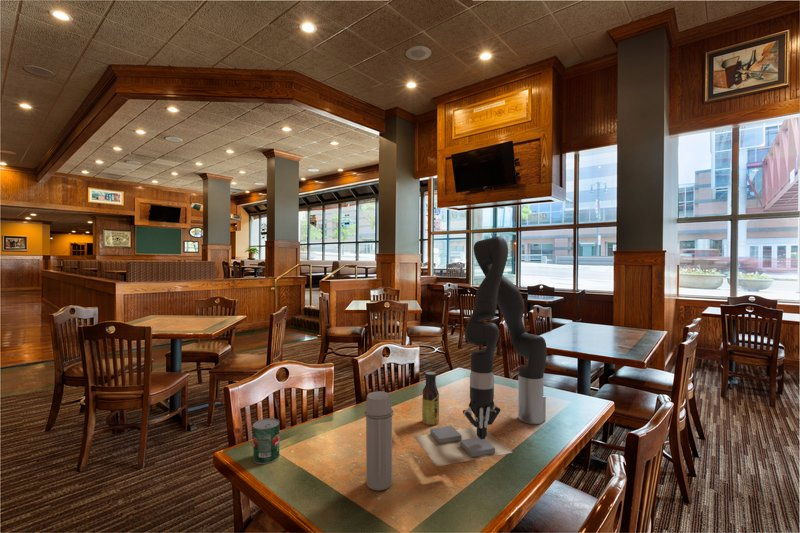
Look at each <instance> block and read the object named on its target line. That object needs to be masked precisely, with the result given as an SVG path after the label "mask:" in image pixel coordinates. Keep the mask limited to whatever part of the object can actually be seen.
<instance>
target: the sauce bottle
mask: <svg viewBox="0 0 800 533" xmlns="http://www.w3.org/2000/svg"><path fill="white" fill-rule="evenodd" d="M424 374H425V375H424V376H425V386H424V387H423V389H422V402H421V404H422V406H421V408H422V411H421V412H422V423H423V425H425V426H430V427H432V426H437V425H439V423H440V393H439V390H438V388H437V383H436V381H437V380H436V378H437V373H436V372H435V371H427V372H425V373H424Z"/></svg>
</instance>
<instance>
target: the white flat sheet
mask: <svg viewBox="0 0 800 533" xmlns="http://www.w3.org/2000/svg"><path fill="white" fill-rule="evenodd" d="M455 430H456V431H457V432H458V433H460V434H461V435H462V440H465V439H471V438H477V437H478V436H477V427H475V426H473V427H467V428H466V427H465V428H460V429H455ZM413 437H414V440H416V442H417V443H418V444H419V446H420V447H421V448H422V449H423V451H424V452H425V453H426V455H428V457H429V458H430V459H431V461H432V462H433V464H434V465H435V466H436V467H442V466H447V465H448V466H449V465H453V464H458V463H463V462H470V461H475V460H481V459H485V458H490V457H496V456H502V455H507V454H513V453H514V452H513V451H512V450H510V448H508V447H507V446H506V445H505V444H503V443H502V442H501V441H500V440H498V439H497V438H496V437H495V436H494V435H492V434H491V433H490V432H489V431H487V436H486V437H485V440H486V441H487V442H489V443H490V444H491V445H492V446H493V447H494V448H495V453H493V454H487V455H482V456H476V457H471V456H470V455H469V454H468V453H467V452H466V451H465V450H464V449H463V448H462V447H461V445H460V440H459V441H453V442H447V443H441V444H439V442H438V441H437V440H436V439H435V438H434V437H433V436H432V435H431V433H428V434H427V433H426V434H421V435H413Z"/></svg>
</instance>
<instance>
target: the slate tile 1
mask: <svg viewBox="0 0 800 533" xmlns="http://www.w3.org/2000/svg"><path fill="white" fill-rule="evenodd" d="M429 430H430V432H429V434H431V435H432V436H433V437H434V438H435V439H436V440H437V441H438V442H439V444H441V443H447V442H453V441H459V440H462V435H461V434H460V433H458V432H457V431H456V430H457V429H455V427H453V426H452V425H445V426H440V427H439V426H438V427H432V428H430V429H429Z"/></svg>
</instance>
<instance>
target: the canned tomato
mask: <svg viewBox="0 0 800 533" xmlns="http://www.w3.org/2000/svg"><path fill="white" fill-rule="evenodd" d="M252 435H253V437H252V441H253V443H252V444H253V445H252V446H253V447H252V449H253V450H252V451H253V458H252V460H253V463H255V464H258V465H267V464H271V463H273V462H275V461H277V460H278V459H279V458H280V456H281V455H280V454H281V453H280V450H281V449H280V420H279V419H277V418H273V417H271V418H270V417H267V418H261V419H259V420H256V421H255V422H254V423H253V424H252Z"/></svg>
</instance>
